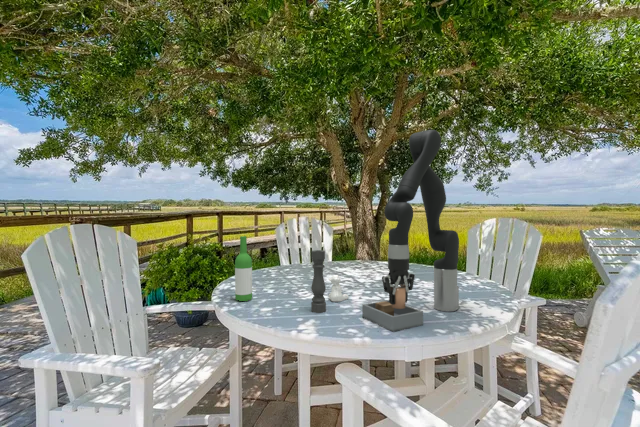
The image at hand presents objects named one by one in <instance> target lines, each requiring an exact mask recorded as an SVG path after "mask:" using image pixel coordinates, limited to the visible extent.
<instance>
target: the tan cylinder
mask: <svg viewBox="0 0 640 427" xmlns="http://www.w3.org/2000/svg"><path fill="white" fill-rule="evenodd" d="M392 290H393V288H392ZM392 307H393V308H396V309H404V308H406V288H404V287H401V286H400V285H398V288H397V289H396V292H395V305H392Z"/></svg>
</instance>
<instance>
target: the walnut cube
mask: <svg viewBox="0 0 640 427" xmlns="http://www.w3.org/2000/svg"><path fill="white" fill-rule="evenodd" d="M383 301H384V302H380V301H377V302H378V303H376V309H377V310H380V311H382V312H385V313H387V314H389V315H392V316H394V308H393V307H392V304H390V303H389V302H386V300H383Z"/></svg>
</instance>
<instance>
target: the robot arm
mask: <svg viewBox="0 0 640 427" xmlns="http://www.w3.org/2000/svg"><path fill="white" fill-rule="evenodd" d="M408 140H409V141H408V145H409V151H410V155H411V158H412V162H413V164H411V166H409V168H408V169H407V170H406V171H405V173H403V176H402V177H401V179H400V182H399V184H398V187H397V189H396V191H395V192H394V193H393V195H391V197H390V199H389V200H388V201H387V203H386V205H385V206H384V216H385V219H386V220H387V221H389V222H397V224H396V226H395V227H394V228H393V227H392V228H390V229H389V230H388V231H389V232H388V250H387V259H388V260H387V263H388V264H387V269H388V275H386V276H384V275H383V276H381V280H382V285H383V291H384V292H385V293H387V294H388V297H389V298H388V300H389V302H390V304H392V305H395V292H396V289H397V288H398V286H401V287H404V288H406V303H408V301H409V297H408V296H409V291H413V288H414V282H415V274H413V273H409V270H410V247H409V234H410V229H411V226H412V222H413V218H414V209H413V206H412V205H411V204H410V203H409V202H410V201H413V200H414V199H415V197H416V195H417V193H418V189H419V190H420V194H421V200H422V203H423V207H424V214H425V218H426V225H427V234H428V241H429V245H430V248H431V250H433V251H435V252H442V253H444V257H442V258H438V259H436V260H434V262H433V309H435V310H437V311H441V312H456V311H457V310H458V309H460V308H459V307H460V302H459V301H460V299H459V298H460V296H459V295H460V293H459V291H460V288H459V285H458V262H459V249H460V248H459V246H460V238H459V234H458V232H457V231H455V230H451V229H450V230H449V229H448V230H447V229H441V226H440V218H441V214H442V212H443V210H444V207H445V205H446V204H447V194H446V190H445V189H446V188H445V185H444V182H443V181H442V179H441V178H440V176H438V174H437V173H436V172H435V171H434V170H433V168H432V167H431V164H432V162H433V160H434V159H435V157H436V155H437V154H438V153H439V151H440V148H441V145H442V137H441V135H440V133H439V132H438V131H437V130H435V129H428V130H423V131H418V132H414V133H412V134H411V135H410V137H409V139H408ZM392 288H393V290H392Z"/></svg>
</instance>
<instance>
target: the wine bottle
mask: <svg viewBox="0 0 640 427" xmlns="http://www.w3.org/2000/svg"><path fill="white" fill-rule="evenodd" d="M239 239H240V240H239V254H238V255H237V256H236V258H235V261H234V291H235V292H234V293H235V294H234V295H235V296H234V297H235V301H237V300H239V301H246V302H249V301H248V300H250V301H251V300H252V299H253V259H252V257H251V255H249V253H247V252H248V246H247V243H248V242H247V236H246V235H245V236H244V235H241V236H240V237H239ZM239 301H238V302H239Z"/></svg>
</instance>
